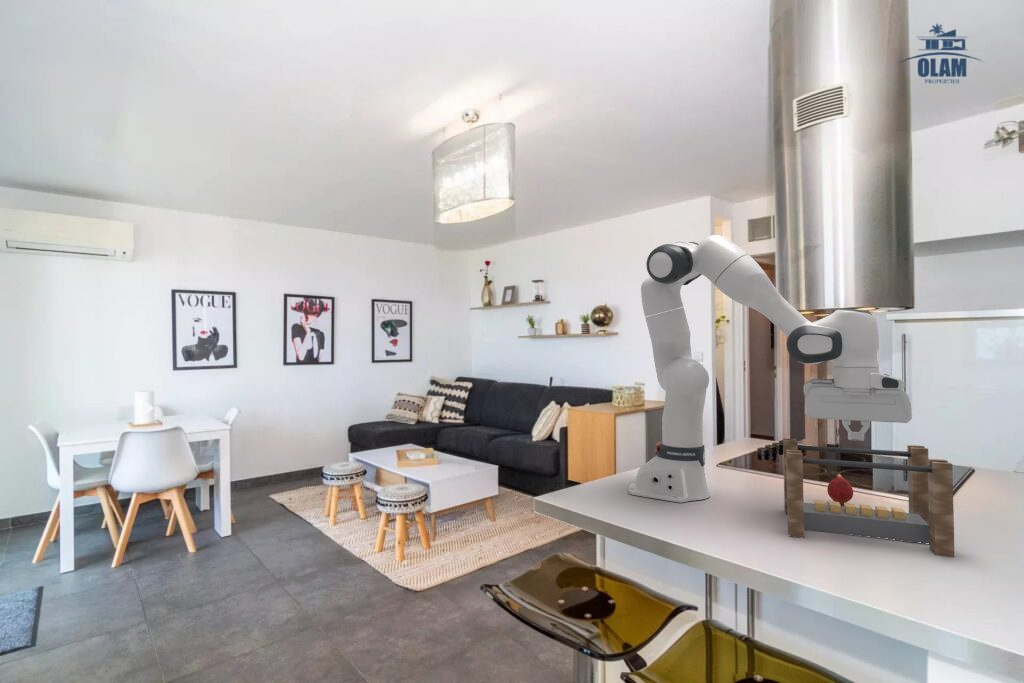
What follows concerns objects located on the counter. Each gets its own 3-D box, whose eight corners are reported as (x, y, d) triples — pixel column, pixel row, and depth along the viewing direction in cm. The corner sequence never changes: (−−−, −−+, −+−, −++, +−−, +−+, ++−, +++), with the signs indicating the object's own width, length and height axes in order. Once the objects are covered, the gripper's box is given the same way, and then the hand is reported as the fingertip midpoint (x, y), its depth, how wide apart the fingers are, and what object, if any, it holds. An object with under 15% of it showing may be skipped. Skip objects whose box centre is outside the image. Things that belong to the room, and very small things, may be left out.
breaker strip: (799, 528, 119) (799, 504, 119) (797, 518, 126) (796, 495, 126) (929, 544, 109) (929, 517, 109) (918, 531, 116) (918, 506, 116)
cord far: (788, 449, 130) (788, 444, 130) (787, 448, 131) (787, 444, 131) (924, 458, 118) (924, 453, 118) (923, 457, 120) (922, 452, 120)
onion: (857, 508, 133) (857, 477, 133) (833, 507, 134) (832, 476, 134) (847, 502, 138) (847, 472, 138) (824, 501, 140) (823, 471, 140)
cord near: (792, 462, 116) (791, 457, 116) (791, 461, 117) (791, 456, 117) (947, 474, 104) (947, 468, 104) (945, 473, 105) (945, 467, 105)
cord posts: (788, 536, 115) (787, 453, 115) (784, 509, 133) (783, 438, 133) (954, 557, 102) (952, 464, 103) (924, 524, 120) (923, 445, 121)
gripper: (804, 379, 120) (805, 439, 120) (913, 381, 111) (914, 446, 111) (802, 377, 125) (802, 434, 125) (905, 379, 117) (906, 441, 116)
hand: (856, 440), depth 118 cm, fingers closed
